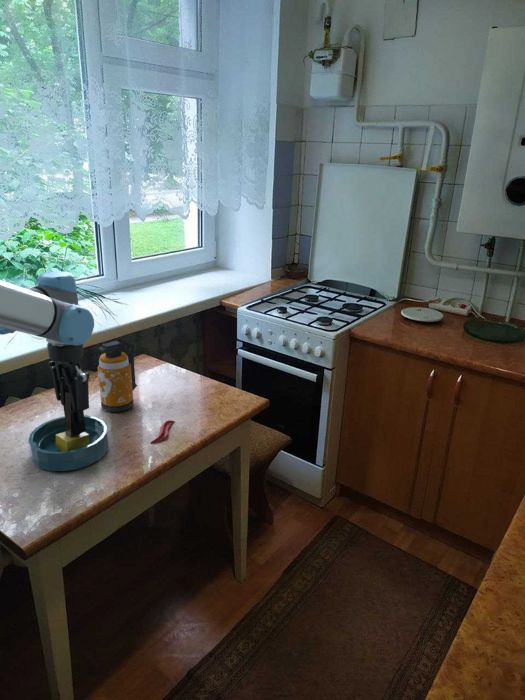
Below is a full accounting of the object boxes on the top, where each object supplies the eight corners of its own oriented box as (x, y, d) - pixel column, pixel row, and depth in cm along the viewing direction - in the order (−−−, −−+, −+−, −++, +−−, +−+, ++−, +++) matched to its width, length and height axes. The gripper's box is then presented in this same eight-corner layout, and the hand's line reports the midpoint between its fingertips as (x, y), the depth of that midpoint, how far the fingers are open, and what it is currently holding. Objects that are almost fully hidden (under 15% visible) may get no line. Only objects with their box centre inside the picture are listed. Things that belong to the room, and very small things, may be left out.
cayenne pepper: (157, 445, 125) (157, 439, 124) (142, 440, 127) (142, 434, 126) (184, 424, 135) (184, 418, 134) (170, 420, 137) (170, 414, 136)
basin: (58, 483, 110) (55, 462, 108) (17, 454, 119) (14, 434, 117) (123, 450, 123) (121, 431, 121) (82, 426, 133) (80, 408, 130)
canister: (95, 406, 143) (88, 341, 136) (127, 394, 151) (123, 332, 144) (113, 417, 138) (107, 350, 130) (145, 403, 146) (142, 340, 138)
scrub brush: (67, 455, 117) (66, 398, 113) (55, 447, 120) (54, 392, 116) (89, 447, 122) (89, 392, 118) (77, 440, 125) (77, 386, 121)
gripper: (99, 344, 110) (108, 435, 119) (60, 328, 119) (71, 414, 128) (69, 354, 105) (81, 448, 113) (30, 336, 113) (44, 426, 122)
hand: (76, 430), depth 121 cm, fingers closed on scrub brush, 2 cm apart
